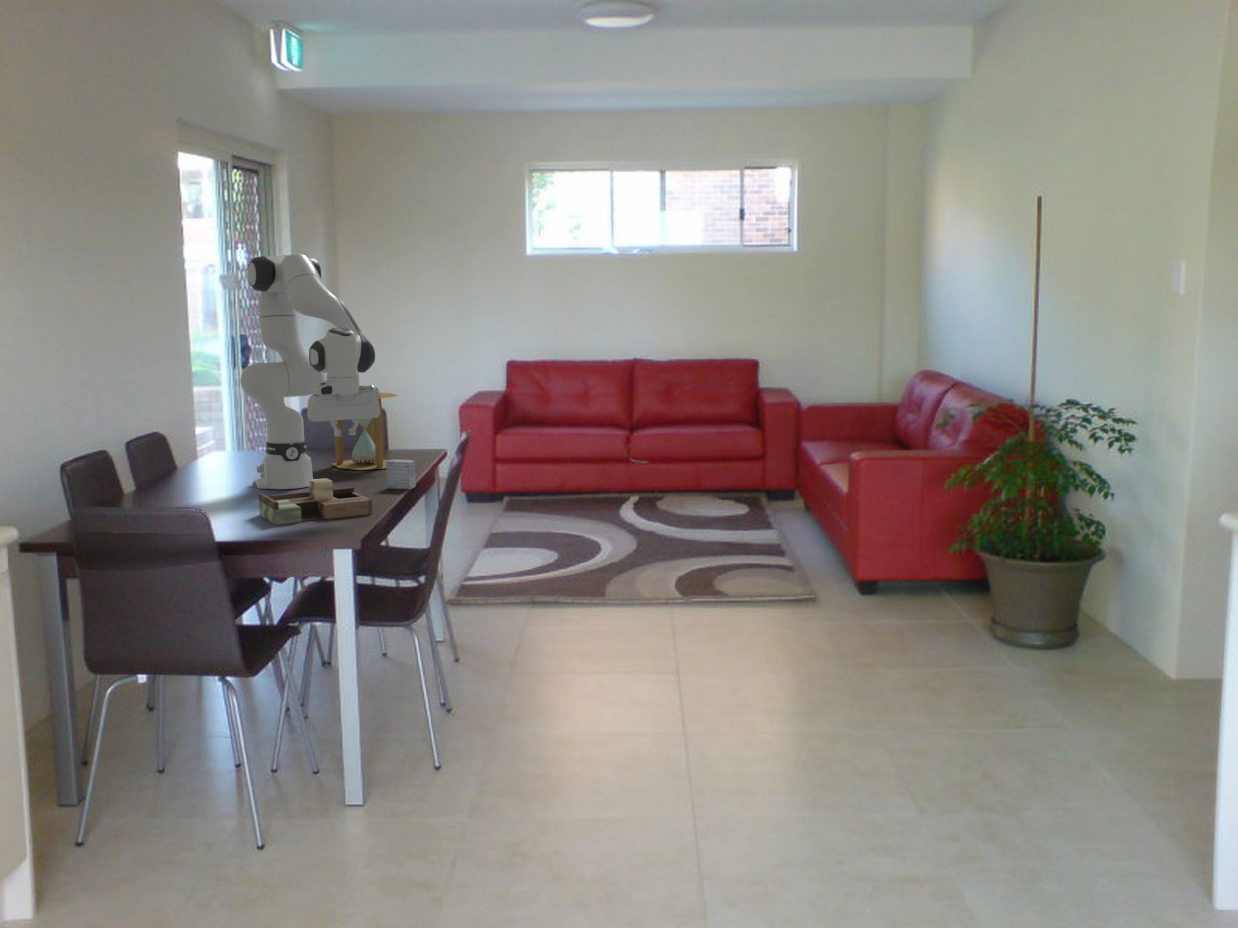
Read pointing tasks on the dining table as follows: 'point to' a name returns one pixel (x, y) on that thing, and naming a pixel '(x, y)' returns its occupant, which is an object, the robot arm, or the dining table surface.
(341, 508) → the board
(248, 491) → the dining table surface
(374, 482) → the dining table surface
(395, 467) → the medicine box
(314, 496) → the maple block
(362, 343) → the robot arm
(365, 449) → the hourglass
